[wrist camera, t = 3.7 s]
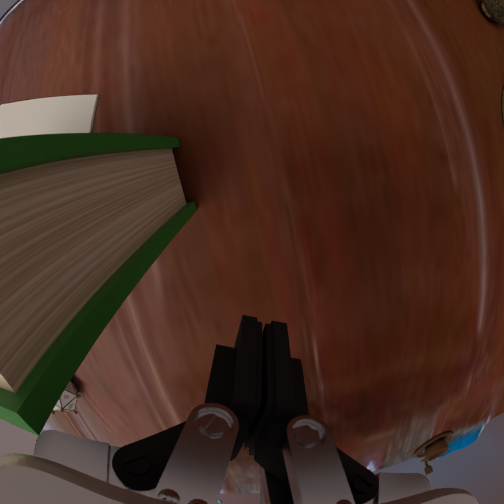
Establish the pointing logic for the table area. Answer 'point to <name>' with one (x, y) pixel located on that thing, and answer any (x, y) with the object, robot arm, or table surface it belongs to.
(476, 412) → the table surface
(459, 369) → the table surface
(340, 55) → the table surface
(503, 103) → the wooden container
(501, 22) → the cup
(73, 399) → the game die
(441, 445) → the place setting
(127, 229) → the hardback book
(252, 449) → the robot arm
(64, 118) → the desk pad
